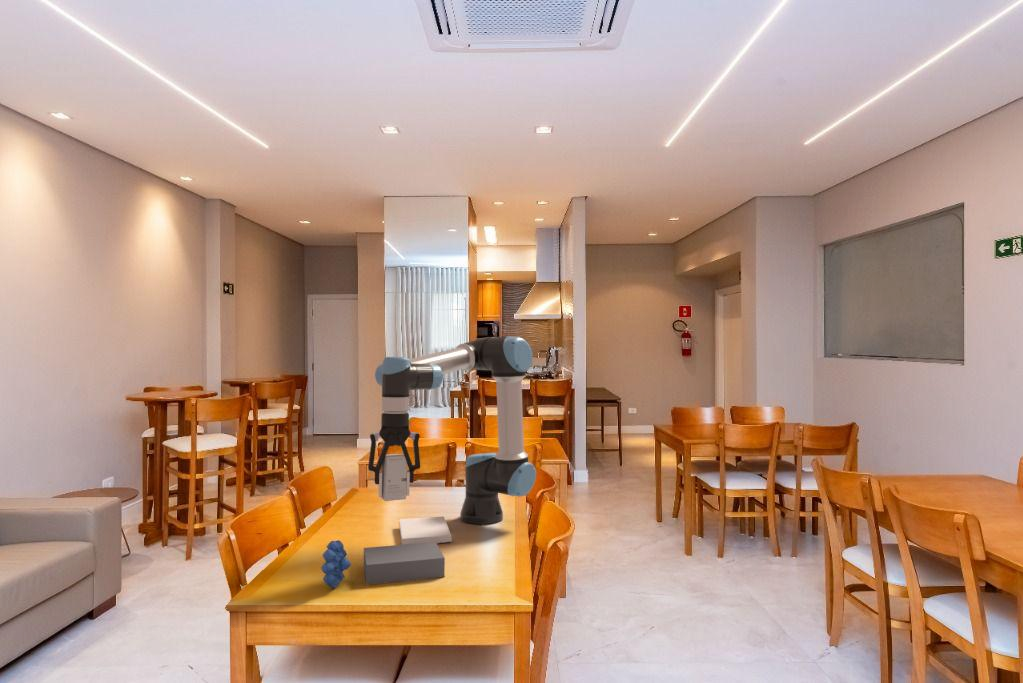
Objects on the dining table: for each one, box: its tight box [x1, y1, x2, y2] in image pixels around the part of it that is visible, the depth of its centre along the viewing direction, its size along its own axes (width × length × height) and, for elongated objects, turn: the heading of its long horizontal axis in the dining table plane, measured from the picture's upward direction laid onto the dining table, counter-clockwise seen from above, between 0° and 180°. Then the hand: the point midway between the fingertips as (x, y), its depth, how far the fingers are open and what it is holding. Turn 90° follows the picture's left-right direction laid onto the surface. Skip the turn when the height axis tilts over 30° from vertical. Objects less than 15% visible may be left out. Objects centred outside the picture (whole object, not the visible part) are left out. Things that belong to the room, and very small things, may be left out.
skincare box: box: [380, 453, 408, 502], centre depth 168 cm, size 6×4×12 cm
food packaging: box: [398, 515, 452, 545], centre depth 196 cm, size 15×3×20 cm
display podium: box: [363, 542, 446, 585], centre depth 163 cm, size 20×14×5 cm
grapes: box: [320, 539, 352, 589], centre depth 151 cm, size 12×7×12 cm, turn 174°
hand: (393, 495), depth 168 cm, fingers closed on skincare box, 7 cm apart
